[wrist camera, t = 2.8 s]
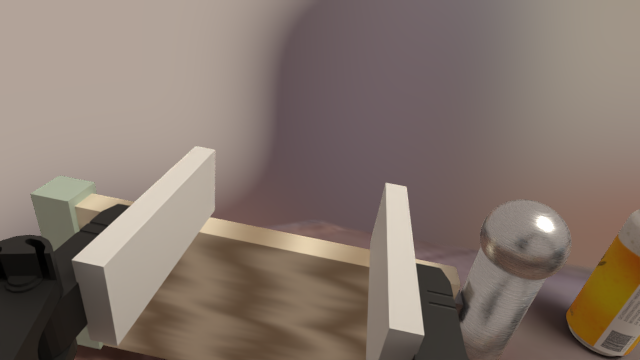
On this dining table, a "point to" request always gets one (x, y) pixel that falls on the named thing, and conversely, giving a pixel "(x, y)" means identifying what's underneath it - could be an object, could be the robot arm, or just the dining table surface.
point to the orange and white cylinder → (611, 297)
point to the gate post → (509, 273)
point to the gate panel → (237, 289)
